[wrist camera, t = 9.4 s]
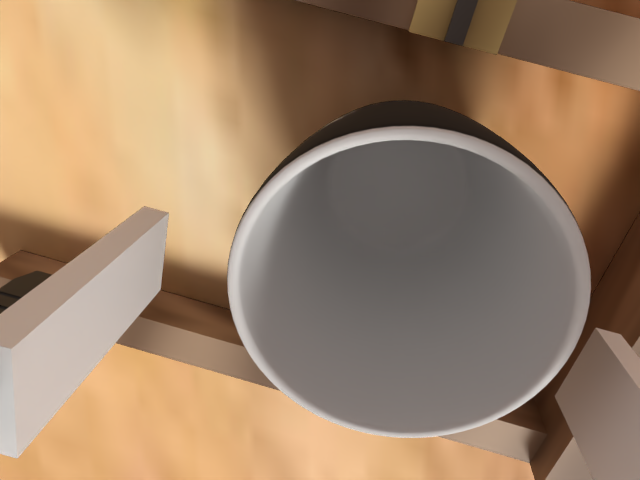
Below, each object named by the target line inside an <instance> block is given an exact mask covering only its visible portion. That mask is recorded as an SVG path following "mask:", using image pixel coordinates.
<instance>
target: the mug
mask: <svg viewBox="0 0 640 480" xmlns="http://www.w3.org/2000/svg"><path fill="white" fill-rule="evenodd" d="M227 290H228V298H229V305H230V309H231V313H232V317H233V321H234V323H235V326H236V329H237V332H238V334H239V336H240V338H241V340H242V342H243V344H244V346H245V348H246V350H247V351H248V353H249V355H250V356H251V358H252V359H253V361H254V362H255V363H256V365H257V366H258V367H259V369H260V370H261V371H262V372H263V373H264V375H265V376H266V377H267V378H268V379H269V380H270V381H271V382H272V383H273V384H274V385H275V386H276V387H277V388H278V389H279V390H280V391H282V392H283V393H284V394H285V395H287V396H288V397H289V398H290V399H292V400H293V401H294V402H296V403H297V404H299V405H300V406H302V407H303V408H305V409H307V410H308V411H310V412H312V413H314V414H315V415H317V416H319V417H322V418H324V419H326V420H328V421H330V422H333V423H335V424H338V425H340V426H343V427H346V428H350V429H353V430H356V431H360V432H364V433H369V434H374V435H380V436H387V437H400V438H423V437H435V436H442V435H449V434H453V433H458V432H462V431H466V430H469V429H473V428H476V427H479V426H482V425H484V424H487V423H489V422H492V421H494V420H496V419H498V418H500V417H502V416H504V415H506V414H508V413H510V412H512V411H513V410H515V409H517V408H518V407H520V406H521V405H523V404H524V403H526V402H527V401H528V400H530V399H531V398H532V397H534V396H535V395H536V394H537V393H538V392H540V391H541V390H542V389H543V388H544V387H545V386H546V385H547V384H548V383H549V382H550V381H551V380H552V379H553V378H554V377H555V376H556V375H557V373H558V372H559V371H560V369H561V368H562V367H563V366H564V364H565V363H566V362H567V360H568V358H569V357H570V355H571V353H572V352H573V350H574V348H575V346H576V344H577V342H578V340H579V338H580V336H581V333H582V330H583V328H584V325H585V322H586V318H587V314H588V309H589V304H590V294H591V270H590V264H589V258H588V253H587V249H586V246H585V242H584V239H583V236H582V233H581V231H580V229H579V226H578V224H577V222H576V219H575V217H574V215H573V214H572V212H571V210H570V209H569V207H568V205H567V203H566V202H565V200H564V199H563V198H562V196H561V195H560V194H559V192H558V191H557V190H556V188H555V187H554V186H553V185H552V183H551V182H550V181H549V180H548V179H547V178H546V177H545V176H544V174H543V173H542V172H541V171H540V170H539V169H538V168H537V167H536V166H535V165H534V164H533V163H532V162H531V161H530V160H529V159H527V158H526V157H525V156H524V155H523V154H522V153H520V152H519V151H518V150H517V149H516V148H514V147H513V146H512V145H511V144H509V143H508V142H507V141H505V140H504V139H503V138H501V137H500V136H498V135H497V134H495V133H494V132H492V131H491V130H489V129H488V128H486V127H485V126H483V125H481V124H479V123H478V122H476V121H474V120H472V119H470V118H468V117H466V116H464V115H462V114H460V113H457V112H455V111H452V110H450V109H447V108H445V107H441V106H438V105H434V104H430V103H425V102H419V101H406V100H404V101H388V102H381V103H376V104H372V105H368V106H365V107H362V108H359V109H356V110H354V111H352V112H350V113H347V114H345V115H343V116H341V117H339V118H338V119H336V120H334V121H333V122H331V123H329V124H327V125H326V126H324V127H323V128H322V129H320V130H319V131H317V132H316V133H315V134H313V135H312V136H311V137H309V138H308V139H307V140H305V141H304V142H303V143H302V144H301V145H300V146H299V147H297V148H296V149H295V150H294V151H293V152H292V153H291V154H290V155H289V156H287V157H286V158H285V159H284V160H283V161H282V162H281V163H280V165H279V166H278V167H277V168H276V169H275V170H274V171H273V172H272V173H271V174H270V176H269V177H268V178H267V179H266V180H265V182H264V183H263V184H262V186H261V187H260V189H259V190H258V191H257V193H256V194H255V195H254V197H253V198H252V200H251V202H250V203H249V205H248V207H247V209H246V210H245V212H244V214H243V216H242V218H241V220H240V223H239V225H238V227H237V229H236V233H235V236H234V239H233V242H232V246H231V250H230V255H229V261H228V271H227Z"/></svg>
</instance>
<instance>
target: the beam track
mask: <svg viewBox="0 0 640 480" xmlns="http://www.w3.org/2000/svg"><path fill="white" fill-rule="evenodd" d="M295 1H299V2H303V3H307V4H311V5H314V6H318V7H322V8H326V9H330V10H333V11H337V12H341V13H345V14H349V15H352V16H356V17H360V18H364V19H368V20H371V21H375V22H379V23H383V24H387V25H390V26H394V27H398V28H402V29H406V30H409V32H411V33H415V34H419V35H423V36H426V37H430V38H434V39H438V40H442V41H445V42H449V43H453V44H457V45H461V46H465V47H468V48H472V49H476V50H480V51H484V52H487V53H491V54H495V55H497V54H501V55H505V56H508V57H512V58H516V59H520V60H524V61H527V62H531V63H535V64H539V65H543V66H546V67H550V68H554V69H558V70H562V71H565V72H569V73H573V74H577V75H581V76H584V77H588V78H592V79H596V80H600V81H603V82H607V83H611V84H615V85H619V86H622V87H626V88H630V89H634V90H638V91H640V19H639V18H636V17H632V16H628V15H624V14H620V13H616V12H612V11H608V10H605V9H601V8H597V7H593V6H589V5H585V4H581V3H577V2H574V1H570V0H295ZM66 264H67V263H64V262H60V261H57V260H53V259H50V258H46V257H43V256H39V255H36V254H32V253H29V252H25V251H22V250H20V251H19V252H17V253H15V254H14V255H12V256H10V257H9V258H7V259H5V260H4V261H2V262H0V288H1V287H2V286H4V285H5V284H7V283H8V282H10V281H11V280H13V279H14V278H17V277H20V276H23V275H26V274H29V273H32V272H34V271H41V272H45V273H48V274H52V275H53V274H54V273H55V272H57V271H58V270H60V269H61V268H62V267H64V266H65V265H66ZM595 328H599V329H603V330H606V331H610V332H614V333H618V334H621V335H622V337H623V338H624V339H625V340H626V342H627V343H628V344H629V346H630V347H631V348H632V349H633V351H634V352H635V353H636V354H637V356H638V357H639V358H640V213H639V215H638V216H637V218H636V220H635V222H634V223H633V225H632V227H631V229H630V230H629V232H628V234H627V235H626V237H625V239H624V241H623V242H622V244H621V246H620V248H619V249H618V251H617V253H616V255H615V256H614V258H613V260H612V261H611V263H610V265H609V267H608V268H607V270H606V272H605V274H604V275H603V277H602V279H601V281H600V282H599V284H598V286H597V287H596V289H595V291H594V293H593V294H592V296H591V298H590V304H589V309H588V314H587V318H586V322H585V325H584V328H583V330H582V333H581V336H580V338H579V340H578V342H577V344H576V346H575V348H574V350H573V352H572V353H571V355H570V357H569V358H568V360H567V362H566V363H565V364H564V366H563V367H562V368H561V369H560V371H559V372H558V373H557V375H556V376H555V377H554V378H553V379H552V380H551V381H550V382H549V383H548V384H547V385H546V386H545V387H544V388H543V389H542V390H541V391H540V392H538V393H537V394H536V395H535V396H534V397H532V398H531V399H530V400H528V401H527V402H526V403H524V404H523V405H521V406H520V407H518V408H517V409H515V410H513V411H512V412H510V413H508V414H506V415H504V416H502V417H500V418H498V419H496V420H494V421H492V422H489V423H487V424H484V425H482V426H479V427H476V428H473V429H469V430H466V431H462V432H458V433H453V434H449V435H442V436H438V437H442V438H445V439H449V440H452V441H456V442H459V443H462V444H466V445H469V446H473V447H476V448H480V449H483V450H487V451H490V452H493V453H497V454H500V455H504V456H507V457H511V458H514V459H518V460H521V461H525V462H528V463H530V465H531V469H532V472H533V475H534V478H535V480H594V479H593V477H592V475H591V473H590V471H589V468H588V466H587V464H586V462H585V460H584V458H583V456H582V454H581V451H580V449H579V447H578V445H577V443H576V441H575V439H574V436H573V434H572V432H571V430H570V428H569V426H568V424H567V422H566V419H565V417H564V415H563V413H562V411H561V409H560V407H559V405H558V402H557V400H556V398H555V395H556V393H557V392H558V390H559V388H560V386H561V385H562V383H563V381H564V380H565V378H566V376H567V375H568V373H569V371H570V370H571V368H572V366H573V365H574V363H575V361H576V360H577V358H578V356H579V355H580V353H581V351H582V350H583V348H584V346H585V345H586V343H587V341H588V340H589V338H590V336H591V334H592V333H593V331H594V329H595ZM116 343H118V344H121V345H124V346H128V347H131V348H135V349H138V350H142V351H145V352H149V353H152V354H155V355H159V356H162V357H166V358H169V359H173V360H176V361H180V362H183V363H187V364H190V365H193V366H197V367H200V368H204V369H207V370H211V371H214V372H218V373H221V374H224V375H228V376H231V377H235V378H238V379H242V380H245V381H249V382H252V383H255V384H259V385H262V386H266V387H269V388H273V389H276V390H279V389H278V388H277V387H276V386H275V385H274V384H273V383H272V382H271V381H270V380H269V379H268V378H267V377H266V376H265V375H264V373H263V372H262V371H261V370H260V369H259V367H258V366H257V365H256V363H255V362H254V361H253V359H252V358H251V356H250V355H249V353H248V351H247V350H246V348H245V346H244V344H243V342H242V340H241V338H240V336H239V334H238V332H237V329H236V326H235V323H234V321H233V317H232V313H231V310H228V309H225V308H221V307H218V306H214V305H211V304H207V303H204V302H200V301H197V300H193V299H190V298H186V297H183V296H179V295H176V294H172V293H169V292H165V291H162V290H160V291H159V292H158V293H157V295H156V296H155V297H154V298H153V299H152V300H151V302H150V303H149V304H148V305H147V306H146V308H145V309H144V310H143V311H142V312H141V313H140V315H139V316H138V317H137V318H136V319H135V320H134V322H133V323H132V324H131V325H130V326H129V328H128V329H127V330H126V331H125V332H124V333H123V335H122V336H121V337H120V338H119V339H118V341H117V342H116Z"/></svg>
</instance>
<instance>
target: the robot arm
mask: <svg viewBox="0 0 640 480" xmlns="http://www.w3.org/2000/svg"><path fill="white" fill-rule="evenodd" d="M168 216H169V213H168V212H164V211H160V210H156V209H153V208H149V207H145V206H144V207H142V208H141V209H140V210H138V211H137V212H136V213H134V214H133V215H132V216H130V217H129V218H128V219H126V220H125V221H124V222H122V223H121V224H120V225H118V226H117V227H116V228H114V229H113V230H112V231H110V232H109V233H108V234H106V235H105V236H104V237H102V238H101V239H100V240H98V241H97V242H96V243H94V244H93V245H92V246H90V247H89V248H88V249H86V250H85V251H84V252H82V253H81V254H80V255H78V256H77V257H76V258H74V259H73V260H72V261H70V262H69V263H68V264H66V265H65V266H64V267H62V268H61V269H60V270H58V271H57V272H55V273H54V274H53V275H52V274H48V273H45V272H41V271H34V272H32V273H29V274H26V275H23V276H20V277H17V278H14V279H13V280H11V281H10V282H8V283H7V284H5V285H4V286H2V287H1V288H0V454H3V455H6V456H10V457H14V458H18V457H19V456H20V455H21V454H22V453H23V451H24V450H25V449H26V448H27V447H28V446H29V444H30V443H31V442H32V441H33V440H34V438H35V437H36V436H37V435H38V434H39V433H40V431H41V430H42V429H43V428H44V427H45V425H46V424H47V423H48V422H49V421H50V420H51V418H52V417H53V416H54V415H55V414H56V412H57V411H58V410H59V409H60V408H61V407H62V405H63V404H64V403H65V402H66V401H67V400H68V398H69V397H70V396H71V395H72V394H73V392H74V391H75V390H76V389H77V388H78V387H79V385H80V384H81V383H82V382H83V381H84V379H85V378H86V377H87V376H88V375H89V374H90V372H91V371H92V370H93V369H94V368H95V366H96V365H97V364H98V363H99V362H100V361H101V359H102V358H103V357H104V356H105V355H106V354H107V352H108V351H109V350H110V349H111V348H112V346H113V345H114V344H115V343H116V342H117V341H118V339H119V338H120V337H121V336H122V335H123V333H124V332H125V331H126V330H127V329H128V328H129V326H130V325H131V324H132V323H133V322H134V320H135V319H136V318H137V317H138V316H139V315H140V313H141V312H142V311H143V310H144V309H145V308H146V306H147V305H148V304H149V303H150V302H151V300H152V299H153V298H154V297H155V296H156V295H157V293H158V292H159V291H160V290H161V282H162V272H163V263H164V254H165V244H166V235H167V226H168ZM555 398H556V400H557V402H558V405H559V407H560V409H561V411H562V413H563V415H564V417H565V419H566V422H567V424H568V426H569V428H570V430H571V432H572V434H573V436H574V439H575V441H576V443H577V445H578V447H579V449H580V451H581V454H582V456H583V458H584V460H585V462H586V464H587V466H588V468H589V471H590V473H591V475H592V477H593V479H594V480H640V358H639V357H638V356H637V354H636V353H635V352H634V351H633V349H632V348H631V347H630V346H629V344H628V343H627V342H626V340H625V339H624V338H623V337H622V335H621V334H618V333H614V332H610V331H606V330H603V329H599V328H595V329H594V331H593V333H592V334H591V336H590V338H589V340H588V341H587V343H586V345H585V346H584V348H583V350H582V351H581V353H580V355H579V356H578V358H577V360H576V361H575V363H574V365H573V366H572V368H571V370H570V371H569V373H568V375H567V376H566V378H565V380H564V381H563V383H562V385H561V386H560V388H559V390H558V392H557V393H556V395H555Z"/></svg>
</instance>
